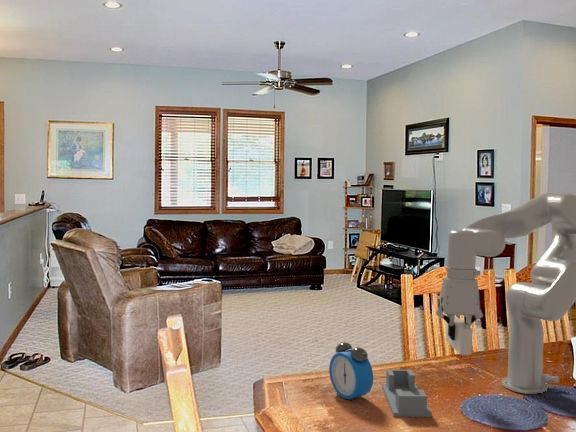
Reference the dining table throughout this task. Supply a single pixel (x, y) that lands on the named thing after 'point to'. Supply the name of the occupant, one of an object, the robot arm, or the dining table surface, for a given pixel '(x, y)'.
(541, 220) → the robot arm
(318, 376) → the dining table surface
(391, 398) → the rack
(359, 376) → the alarm clock
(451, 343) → the light grey rectangular block
